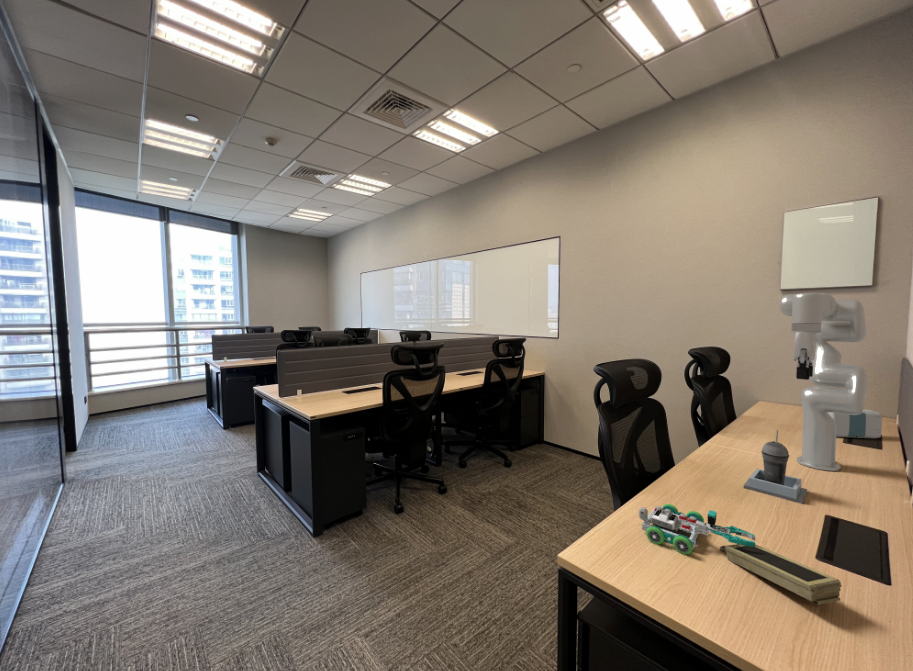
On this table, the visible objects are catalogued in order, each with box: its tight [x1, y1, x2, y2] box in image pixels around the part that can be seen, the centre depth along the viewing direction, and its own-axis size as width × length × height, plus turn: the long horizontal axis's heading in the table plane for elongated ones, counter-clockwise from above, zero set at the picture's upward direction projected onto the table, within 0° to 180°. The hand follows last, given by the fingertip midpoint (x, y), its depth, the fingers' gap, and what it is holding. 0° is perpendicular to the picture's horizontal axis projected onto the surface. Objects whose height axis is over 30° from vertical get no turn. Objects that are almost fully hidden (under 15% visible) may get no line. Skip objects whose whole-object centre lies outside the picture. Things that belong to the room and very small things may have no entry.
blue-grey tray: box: [743, 468, 808, 505], centre depth 126 cm, size 12×15×4 cm
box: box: [719, 543, 843, 606], centre depth 83 cm, size 8×22×5 cm, turn 13°
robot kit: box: [638, 503, 756, 556], centre depth 97 cm, size 19×25×9 cm
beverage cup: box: [760, 429, 790, 485], centre depth 126 cm, size 7×7×20 cm
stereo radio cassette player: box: [827, 395, 883, 440], centre depth 183 cm, size 21×8×20 cm, turn 80°
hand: (804, 377), depth 128 cm, fingers open, 9 cm apart
